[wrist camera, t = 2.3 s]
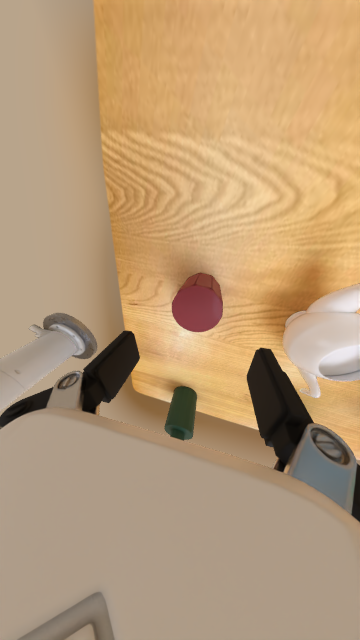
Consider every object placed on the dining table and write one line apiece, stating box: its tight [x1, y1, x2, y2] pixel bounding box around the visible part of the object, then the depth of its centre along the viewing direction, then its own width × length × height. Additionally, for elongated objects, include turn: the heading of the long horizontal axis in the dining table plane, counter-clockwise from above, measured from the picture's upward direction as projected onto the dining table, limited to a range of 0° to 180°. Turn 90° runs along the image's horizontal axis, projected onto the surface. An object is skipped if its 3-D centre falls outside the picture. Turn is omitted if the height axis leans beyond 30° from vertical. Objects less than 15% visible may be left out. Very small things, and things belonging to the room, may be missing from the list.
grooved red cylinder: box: [172, 273, 223, 332], centre depth 20 cm, size 7×7×8 cm
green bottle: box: [165, 386, 197, 441], centre depth 34 cm, size 7×7×15 cm
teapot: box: [283, 283, 360, 398], centre depth 18 cm, size 10×20×9 cm, turn 5°
